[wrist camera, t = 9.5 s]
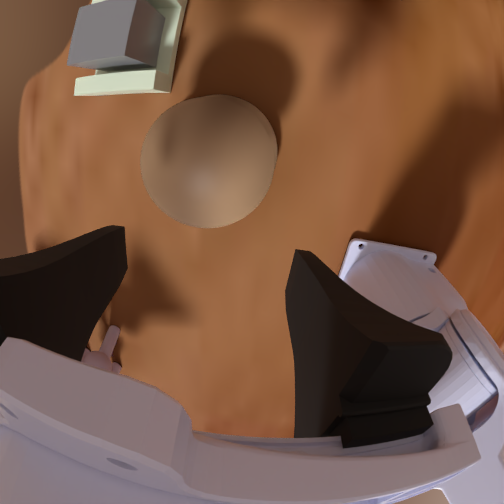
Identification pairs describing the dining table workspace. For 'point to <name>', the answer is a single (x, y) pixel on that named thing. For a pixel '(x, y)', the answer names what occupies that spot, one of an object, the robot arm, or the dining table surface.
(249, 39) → the dining table surface
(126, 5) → the gray metal block
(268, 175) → the tan rounded lump
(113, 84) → the pale green flanged block
